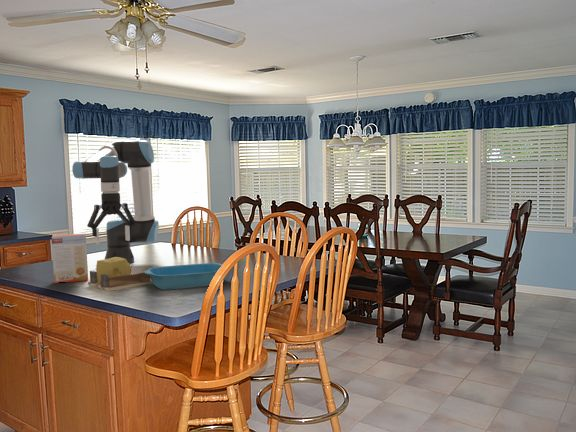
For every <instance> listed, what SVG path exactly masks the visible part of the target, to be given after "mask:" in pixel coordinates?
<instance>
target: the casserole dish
mask: <svg viewBox="0 0 576 432" xmlns="http://www.w3.org/2000/svg"><path fill="white" fill-rule="evenodd" d="M221 265H222V263H218V262H217V263H216V262H211V263H210V262H209V263H190V264H179V265H178V264H177V265H165V266H156V267H150V268H148V269H147V270H145V271H144V272H145V274H147V275H150V278H151V280H152V282H153V283H152V284H153V285H154V286H155V287H156V288H158V289H160V290H162V291H163V290H164V291H165V290H166V291H167V290H168V291H169V290H181V289H182V290H183V289H189V288H190V289H193V288H203V287H205V288H206V287H209V286H208V285H209V284H210V282H211V280H212V278H213V276H214V275H215V273H216V272H217V270H218V269H219V268H220V267H221ZM227 277H228V275H227V276H226V278H225V281H227Z"/></svg>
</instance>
